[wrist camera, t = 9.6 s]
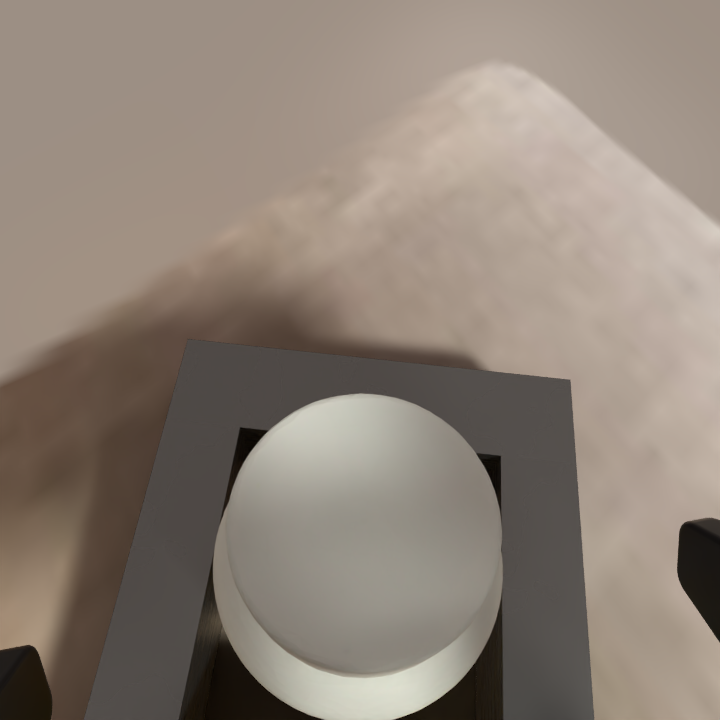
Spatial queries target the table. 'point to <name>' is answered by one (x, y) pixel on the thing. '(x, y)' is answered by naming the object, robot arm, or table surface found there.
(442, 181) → the table surface
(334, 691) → the supplement bottle
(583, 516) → the table surface
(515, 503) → the grey slotted block
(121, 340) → the table surface
